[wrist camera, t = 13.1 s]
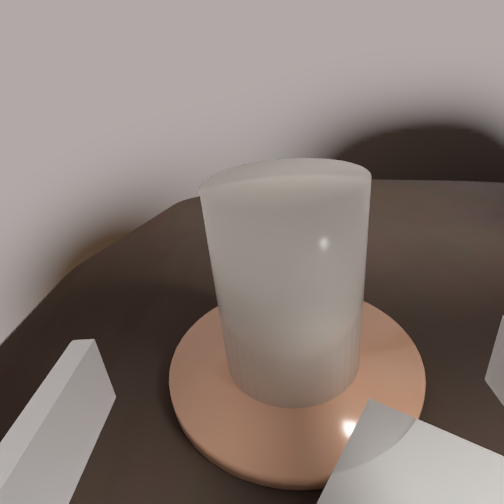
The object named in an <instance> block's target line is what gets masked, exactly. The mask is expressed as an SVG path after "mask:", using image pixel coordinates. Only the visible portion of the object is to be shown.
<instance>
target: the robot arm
mask: <svg viewBox="0 0 504 504" xmlns="http://www.w3.org/2000/svg"><path fill="white" fill-rule="evenodd" d="M485 381H486V382H487V384H488V385H489V386H490V388H491V389H492V391H493V392H494V393H495V395H496V396H497V397H498V399H499V400H500V401H501V403H502V404H503V406H504V315H503V316H502V320H501V323H500V327H499V330H498V334H497V337H496V341H495V344H494V348H493V351H492V355H491V358H490V362H489V365H488V369H487V373H486V376H485ZM115 399H116V395H115V393H114V390H113V387H112V385H111V382H110V379H109V377H108V374H107V371H106V369H105V366H104V363H103V360H102V358H101V355H100V352H99V350H98V347H97V344H96V342H95V339H84V340H72V341H71V343H70V344H69V346H68V347H67V348H66V350H65V351H64V353H63V354H62V356H61V357H60V358H59V360H58V361H57V363H56V364H55V365H54V367H53V368H52V370H51V371H50V373H49V374H48V375H47V377H46V378H45V380H44V381H43V383H42V384H41V385H40V387H39V388H38V390H37V391H36V392H35V394H34V395H33V397H32V398H31V400H30V401H29V402H28V404H27V405H26V407H25V408H24V410H23V411H22V412H21V414H20V415H19V417H18V418H17V419H16V421H15V422H14V424H13V425H12V427H11V428H10V429H9V431H8V432H7V434H6V435H5V437H4V438H3V439H2V441H1V442H0V504H69V502H70V500H71V498H72V495H73V493H74V491H75V489H76V486H77V484H78V482H79V480H80V477H81V475H82V473H83V471H84V468H85V466H86V464H87V462H88V459H89V457H90V455H91V453H92V450H93V448H94V446H95V444H96V441H97V439H98V437H99V435H100V432H101V430H102V428H103V426H104V423H105V421H106V419H107V417H108V414H109V412H110V410H111V408H112V405H113V403H114V401H115Z"/></svg>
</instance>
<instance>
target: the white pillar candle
mask: <svg viewBox="0 0 504 504" xmlns="http://www.w3.org/2000/svg"><path fill="white" fill-rule="evenodd" d="M370 190H371V174H370V172H369V171H368V170H367V169H365V168H364V167H361V166H359V165H356V164H353V163H349V162H344V161H339V160H332V159H319V158H291V159H277V160H267V161H261V162H254V163H249V164H243V165H239V166H235V167H231V168H228V169H225V170H222V171H219V172H217V173H215V174H212V175H211V176H209V177H207V178H206V179H204V180H203V181H202V182H201V184H200V185H199V192H200V198H201V204H202V210H203V217H204V223H205V229H206V235H207V241H208V247H209V254H210V260H211V266H212V272H213V278H214V285H215V291H216V297H217V303H218V309H219V316H220V322H221V328H222V334H223V340H224V347H225V353H226V359H227V365H228V370H229V373H230V376H231V377H232V379H233V381H234V382H235V384H236V385H237V386H238V387H239V388H240V389H241V390H242V391H243V392H244V393H246V394H247V395H248V396H250V397H251V398H253V399H255V400H257V401H259V402H262V403H265V404H268V405H271V406H276V407H282V408H306V407H312V406H316V405H320V404H323V403H326V402H328V401H330V400H332V399H334V398H336V397H337V396H339V395H340V394H342V393H343V392H344V391H345V390H346V389H347V388H349V386H350V385H351V384H352V383H353V381H354V379H355V377H356V376H357V373H358V370H359V363H360V347H361V332H362V316H363V300H364V284H365V268H366V253H367V237H368V221H369V205H370Z"/></svg>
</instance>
